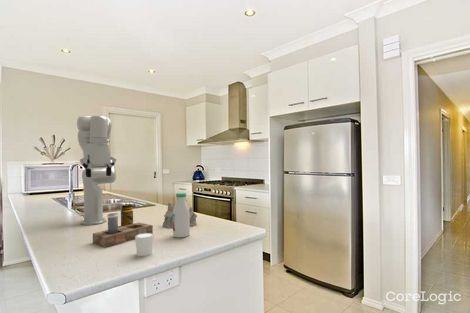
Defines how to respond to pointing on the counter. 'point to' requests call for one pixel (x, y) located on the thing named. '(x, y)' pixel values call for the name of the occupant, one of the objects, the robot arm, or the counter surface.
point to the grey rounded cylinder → (112, 223)
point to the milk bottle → (181, 217)
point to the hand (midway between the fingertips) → (98, 176)
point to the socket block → (121, 234)
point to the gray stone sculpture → (169, 217)
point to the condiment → (126, 215)
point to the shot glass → (144, 244)
